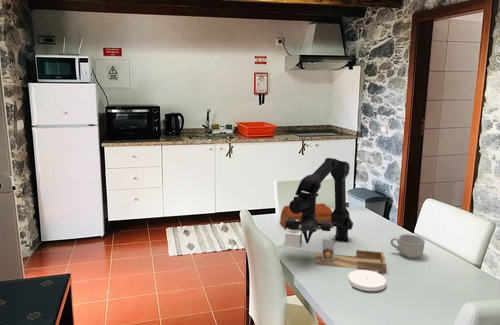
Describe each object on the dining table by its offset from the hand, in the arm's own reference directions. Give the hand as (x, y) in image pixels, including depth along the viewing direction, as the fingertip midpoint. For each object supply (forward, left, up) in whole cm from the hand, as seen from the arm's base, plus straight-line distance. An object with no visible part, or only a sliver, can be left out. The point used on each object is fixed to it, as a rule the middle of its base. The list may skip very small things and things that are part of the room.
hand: (307, 243), depth 176 cm
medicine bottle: (-14, -7, -8) cm, 18 cm away
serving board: (0, +18, -8) cm, 19 cm away
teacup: (-15, +43, -8) cm, 46 cm away
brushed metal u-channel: (0, +9, -6) cm, 11 cm away
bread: (-43, -3, -8) cm, 44 cm away
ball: (0, +9, -4) cm, 10 cm away
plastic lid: (+16, +24, -8) cm, 30 cm away
